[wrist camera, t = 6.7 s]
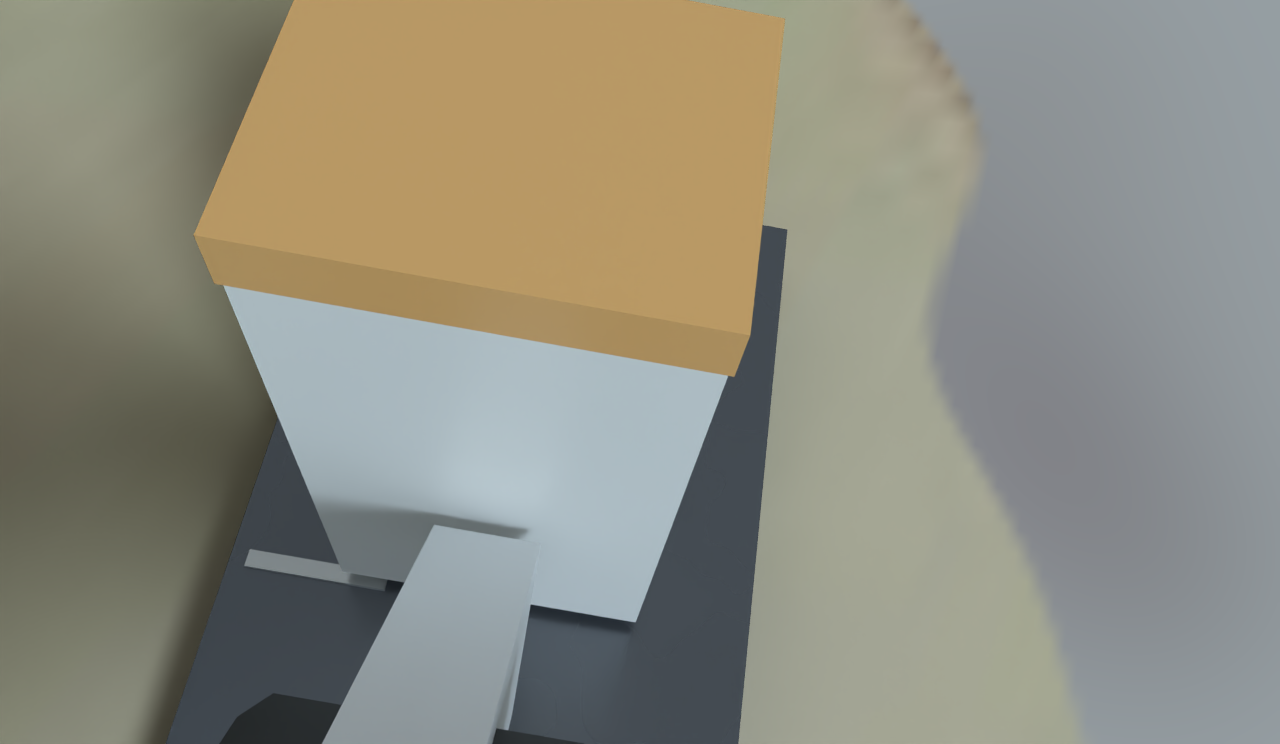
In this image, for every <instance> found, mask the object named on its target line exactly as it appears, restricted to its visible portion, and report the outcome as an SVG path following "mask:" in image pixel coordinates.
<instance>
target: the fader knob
mask: <svg viewBox="0 0 1280 744" xmlns="http://www.w3.org/2000/svg"><path fill="white" fill-rule="evenodd" d="M784 24H785V18H779V17H774V16H769V15H763V14H758V13H753V12H747V11H742V10H737V9H731V8H726V7H721V6H715V5H710V4H705V3H699V2H694V1H689V0H294V1H293V3H292V6H291V8H290V10H289V13H288V15H287V17H286V20H285V22H284V24H283V27H282V29H281V31H280V34H279V36H278V38H277V41H276V43H275V46H274V48H273V50H272V53H271V55H270V57H269V60H268V62H267V64H266V67H265V69H264V71H263V74H262V76H261V78H260V81H259V83H258V85H257V88H256V90H255V92H254V95H253V97H252V99H251V102H250V104H249V106H248V109H247V111H246V113H245V116H244V118H243V120H242V123H241V125H240V128H239V130H238V132H237V135H236V137H235V139H234V142H233V144H232V146H231V149H230V151H229V153H228V156H227V158H226V160H225V163H224V165H223V167H222V170H221V172H220V174H219V177H218V179H217V181H216V184H215V186H214V188H213V191H212V193H211V195H210V198H209V200H208V203H207V205H206V207H205V210H204V212H203V214H202V217H201V219H200V221H199V224H198V226H197V228H196V231H195V233H194V237H195V240H196V242H197V244H198V247H199V249H200V251H201V254H202V256H203V258H204V261H205V263H206V265H207V268H208V270H209V272H210V275H211V277H212V279H213V282H214V284H219V285H223V286H224V288H225V291H226V293H227V295H228V298H229V300H230V303H231V305H232V307H233V310H234V312H235V315H236V317H237V319H238V322H239V324H240V327H241V329H242V331H243V334H244V336H245V339H246V341H247V343H248V346H249V348H250V351H251V353H252V355H253V358H254V360H255V363H256V365H257V368H258V370H259V372H260V375H261V377H262V380H263V382H264V384H265V387H266V389H267V392H268V394H269V396H270V399H271V401H272V404H273V406H274V408H275V411H276V413H277V416H278V418H279V420H280V423H281V425H282V428H283V430H284V432H285V435H286V437H287V440H288V442H289V444H290V447H291V449H292V452H293V454H294V457H295V459H296V461H297V464H298V466H299V469H300V471H301V473H302V476H303V478H304V481H305V483H306V485H307V488H308V490H309V493H310V495H311V497H312V500H313V502H314V505H315V507H316V509H317V512H318V514H319V517H320V519H321V521H322V524H323V526H324V529H325V531H326V533H327V536H328V538H329V541H330V543H331V546H332V548H333V550H334V553H335V555H336V558H337V560H338V562H339V565H340V567H341V570H342V572H347V573H353V574H359V575H364V576H370V577H376V578H382V579H387V580H393V581H399V582H405V581H406V579H407V577H408V575H409V573H410V571H411V569H412V567H413V565H414V563H415V561H416V559H417V557H418V555H419V553H420V551H421V549H422V548H423V546H424V544H425V542H426V540H427V538H428V536H429V534H430V532H431V530H432V528H433V526H434V525H438V526H444V527H450V528H455V529H461V530H467V531H472V532H478V533H484V534H489V535H495V536H501V537H506V538H512V539H518V540H523V541H529V542H535V543H540V544H541V546H540V552H539V558H538V564H537V570H536V575H535V581H534V587H533V593H532V599H531V604H532V605H537V606H543V607H549V608H555V609H561V610H566V611H572V612H578V613H584V614H589V615H595V616H601V617H607V618H613V619H618V620H624V621H630V622H636V620H637V617H638V615H639V612H640V609H641V607H642V604H643V601H644V599H645V596H646V593H647V591H648V588H649V585H650V583H651V580H652V577H653V575H654V572H655V569H656V567H657V564H658V561H659V559H660V556H661V553H662V551H663V548H664V545H665V543H666V540H667V538H668V535H669V532H670V530H671V527H672V524H673V522H674V519H675V516H676V514H677V511H678V508H679V506H680V503H681V500H682V498H683V495H684V492H685V490H686V487H687V484H688V482H689V479H690V476H691V474H692V471H693V468H694V466H695V463H696V460H697V458H698V455H699V452H700V450H701V447H702V444H703V442H704V439H705V436H706V434H707V431H708V428H709V426H710V423H711V420H712V418H713V415H714V412H715V410H716V407H717V404H718V402H719V399H720V396H721V394H722V391H723V388H724V386H725V383H726V380H727V378H728V376H732V377H734V376H735V374H736V371H737V369H738V366H739V363H740V361H741V358H742V356H743V353H744V351H745V348H746V345H747V343H748V340H749V338H750V334H751V325H752V316H753V307H754V297H755V288H756V279H757V270H758V261H759V252H760V243H761V234H762V225H763V215H764V206H765V197H766V188H767V179H768V170H769V161H770V152H771V143H772V133H773V124H774V115H775V106H776V97H777V88H778V79H779V70H780V61H781V51H782V42H783V33H784Z"/></svg>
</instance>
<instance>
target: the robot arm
mask: <svg viewBox="0 0 1280 744" xmlns="http://www.w3.org/2000/svg"><path fill="white" fill-rule="evenodd" d="M540 546H541V544H540V543H535V542H529V541H523V540H518V539H512V538H506V537H501V536H495V535H489V534H484V533H478V532H472V531H467V530H461V529H455V528H450V527H444V526H438V525H434V526H433V528H432V530H431V532H430V534H429V536H428V538H427V540H426V542H425V544H424V546H423V548H422V549H421V551H420V553H419V555H418V557H417V559H416V561H415V563H414V565H413V567H412V569H411V571H410V573H409V575H408V577H407V579H406V581H405V583H404V585H403V587H402V589H401V590H400V592H399V594H398V596H397V598H396V600H395V602H394V604H393V606H392V608H391V610H390V612H389V614H388V616H387V618H386V620H385V622H384V624H383V626H382V628H381V629H380V631H379V633H378V635H377V637H376V639H375V641H374V643H373V645H372V647H371V649H370V651H369V653H368V655H367V657H366V659H365V661H364V663H363V665H362V667H361V669H360V670H359V672H358V674H357V676H356V678H355V680H354V682H353V684H352V686H351V688H350V690H349V692H348V694H347V696H346V698H345V700H344V702H343V704H342V705H339V704H334V703H328V702H322V701H316V700H310V699H305V698H299V697H293V696H287V695H281V694H276V693H273V694H271V695H270V696H268V697H267V698H265V699H263V700H262V701H260V702H259V703H257V704H256V705H254V706H253V707H251V708H250V709H248V710H247V711H245V712H244V713H242V714H240V715H239V716H237V718H236V719H235V721H234V722H233V724H232V725H231V727H230V728H229V730H228V731H227V733H226V734H225V736H224V737H223V739H222V740H221V742H220V743H219V744H584V743H579V742H573V741H567V740H561V739H556V738H550V737H544V736H538V735H532V734H527V733H521V732H515V731H509V730H508V729H509V725H510V721H511V717H512V712H513V706H514V700H515V694H516V688H517V682H518V676H519V670H520V664H521V658H522V652H523V647H524V641H525V635H526V629H527V623H528V617H529V611H530V605H531V599H532V593H533V587H534V581H535V575H536V570H537V564H538V558H539V552H540Z"/></svg>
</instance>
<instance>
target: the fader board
mask: <svg viewBox="0 0 1280 744" xmlns="http://www.w3.org/2000/svg"><path fill="white" fill-rule="evenodd" d="M786 238H787V230H786V229H781V228H775V227H770V226H764V225H762V234H761V243H760V252H759V261H758V270H757V279H756V288H755V297H754V307H753V316H752V325H751V334H750V338H749V340H748V343H747V345H746V348H745V351H744V353H743V356H742V358H741V361H740V363H739V366H738V369H737V371H736V374H735V376H734V377H732V376H728V378H727V380H726V383H725V386H724V388H723V391H722V394H721V396H720V399H719V402H718V404H717V407H716V410H715V412H714V415H713V418H712V420H711V423H710V426H709V428H708V431H707V434H706V436H705V439H704V442H703V444H702V447H701V450H700V452H699V455H698V458H697V460H696V463H695V466H694V468H693V471H692V474H691V476H690V479H689V482H688V484H687V487H686V490H685V492H684V495H683V498H682V500H681V503H680V506H679V508H678V511H677V514H676V516H675V519H674V522H673V524H672V527H671V530H670V532H669V535H668V538H667V540H666V543H665V545H664V548H663V551H662V553H661V556H660V559H659V561H658V564H657V567H656V569H655V572H654V575H653V577H652V580H651V583H650V585H649V588H648V591H647V593H646V596H645V599H644V601H643V604H642V607H641V609H640V612H639V615H638V617H637V620H636V622H630V621H624V620H618V619H613V618H607V617H601V616H595V615H589V614H584V613H578V612H572V611H566V610H561V609H555V608H549V607H543V606H537V605H532V604H531V605H530V611H529V617H528V623H527V629H526V635H525V641H524V647H523V652H522V658H521V664H520V670H519V676H518V682H517V688H516V694H515V700H514V706H513V712H512V717H511V721H510V725H509V729H508V730H509V731H515V732H521V733H527V734H532V735H538V736H544V737H550V738H556V739H561V740H567V741H573V742H579V743H584V744H738V740H739V730H740V719H741V709H742V698H743V688H744V677H745V667H746V656H747V646H748V635H749V625H750V615H751V604H752V594H753V583H754V573H755V562H756V552H757V541H758V531H759V520H760V510H761V499H762V489H763V478H764V468H765V458H766V447H767V437H768V426H769V416H770V405H771V395H772V384H773V374H774V363H775V353H776V342H777V332H778V322H779V311H780V301H781V290H782V280H783V269H784V259H785V248H786ZM404 583H405V582H399V581H393V580H387V579H382V578H376V577H370V576H364V575H359V574H353V573H347V572H342V570H341V567H340V565H339V562H338V560H337V558H336V555H335V553H334V550H333V548H332V546H331V543H330V541H329V538H328V536H327V533H326V531H325V529H324V526H323V524H322V521H321V519H320V517H319V514H318V512H317V509H316V507H315V505H314V502H313V500H312V497H311V495H310V493H309V490H308V488H307V485H306V483H305V481H304V478H303V476H302V473H301V471H300V469H299V466H298V464H297V461H296V459H295V457H294V454H293V452H292V449H291V447H290V444H289V442H288V440H287V437H286V435H285V432H284V430H283V428H282V425H281V423H280V420H279V418H278V419H277V422H276V425H275V428H274V431H273V434H272V437H271V439H270V442H269V445H268V448H267V451H266V454H265V457H264V460H263V463H262V466H261V468H260V471H259V474H258V477H257V480H256V483H255V486H254V489H253V492H252V495H251V497H250V500H249V503H248V506H247V509H246V512H245V515H244V518H243V521H242V524H241V526H240V529H239V532H238V535H237V538H236V541H235V544H234V547H233V550H232V553H231V556H230V558H229V561H228V564H227V567H226V570H225V573H224V576H223V579H222V582H221V585H220V587H219V590H218V593H217V596H216V599H215V602H214V605H213V608H212V611H211V614H210V616H209V619H208V622H207V625H206V628H205V631H204V634H203V637H202V640H201V643H200V646H199V648H198V651H197V654H196V657H195V660H194V663H193V666H192V669H191V672H190V675H189V677H188V680H187V683H186V686H185V689H184V692H183V695H182V698H181V701H180V704H179V706H178V709H177V712H176V715H175V718H174V721H173V724H172V727H171V730H170V733H169V735H168V738H167V741H166V744H219V743H220V742H221V740H222V739H223V737H224V736H225V734H226V733H227V731H228V730H229V728H230V727H231V725H232V724H233V722H234V721H235V719H236V718H237V716H239V715H240V714H242V713H244V712H245V711H247V710H248V709H250V708H251V707H253V706H254V705H256V704H257V703H259V702H260V701H262V700H263V699H265V698H267V697H268V696H270V695H271V694H273V693H276V694H281V695H287V696H293V697H299V698H305V699H310V700H316V701H322V702H328V703H334V704H339V705H342V704H343V702H344V700H345V698H346V696H347V694H348V692H349V690H350V688H351V686H352V684H353V682H354V680H355V678H356V676H357V674H358V672H359V670H360V669H361V667H362V665H363V663H364V661H365V659H366V657H367V655H368V653H369V651H370V649H371V647H372V645H373V643H374V641H375V639H376V637H377V635H378V633H379V631H380V629H381V628H382V626H383V624H384V622H385V620H386V618H387V616H388V614H389V612H390V610H391V608H392V606H393V604H394V602H395V600H396V598H397V596H398V594H399V592H400V590H401V589H402V587H403V585H404Z"/></svg>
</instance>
